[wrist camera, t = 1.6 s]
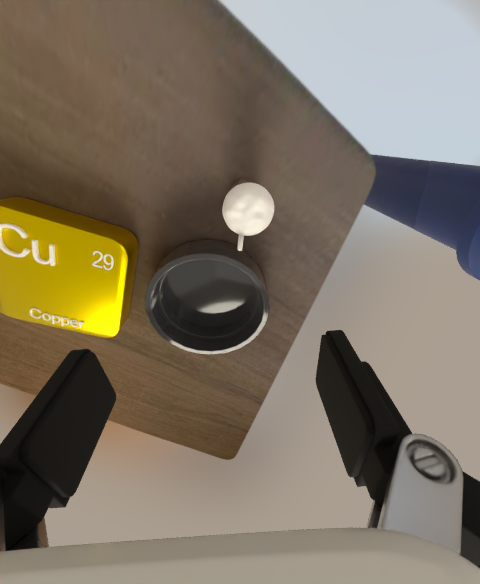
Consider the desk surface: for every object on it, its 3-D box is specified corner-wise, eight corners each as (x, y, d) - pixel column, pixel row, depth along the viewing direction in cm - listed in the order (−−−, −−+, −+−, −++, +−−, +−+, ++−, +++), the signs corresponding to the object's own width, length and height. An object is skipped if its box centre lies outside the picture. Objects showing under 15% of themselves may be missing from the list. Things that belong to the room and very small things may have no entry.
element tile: (19, 296, 35) (-9, 317, 31) (5, 190, 28) (-35, 198, 24) (128, 322, 38) (116, 344, 34) (141, 232, 31) (128, 246, 27)
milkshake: (218, 214, 30) (214, 244, 21) (230, 166, 27) (229, 179, 19) (254, 224, 31) (263, 257, 22) (269, 178, 28) (285, 196, 19)
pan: (260, 230, 31) (265, 245, 27) (267, 325, 39) (272, 348, 35) (140, 246, 32) (126, 262, 27) (172, 336, 40) (165, 359, 35)
